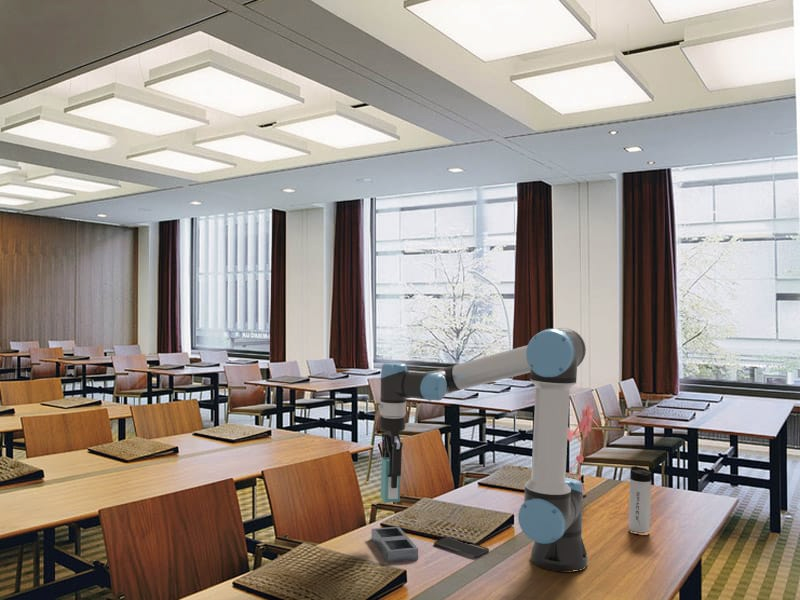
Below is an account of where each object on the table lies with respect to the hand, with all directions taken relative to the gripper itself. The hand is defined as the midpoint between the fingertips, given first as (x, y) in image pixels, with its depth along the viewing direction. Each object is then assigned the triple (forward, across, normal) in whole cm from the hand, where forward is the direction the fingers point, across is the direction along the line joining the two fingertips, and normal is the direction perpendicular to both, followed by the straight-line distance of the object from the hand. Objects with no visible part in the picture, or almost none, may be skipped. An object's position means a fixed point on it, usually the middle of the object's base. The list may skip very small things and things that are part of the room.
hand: (390, 495), depth 194 cm
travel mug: (+14, +9, +79) cm, 81 cm away
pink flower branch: (+14, -24, +81) cm, 86 cm away
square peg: (+1, 0, 0) cm, 1 cm away
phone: (+14, +9, +19) cm, 25 cm away
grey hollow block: (+14, +5, 0) cm, 15 cm away
